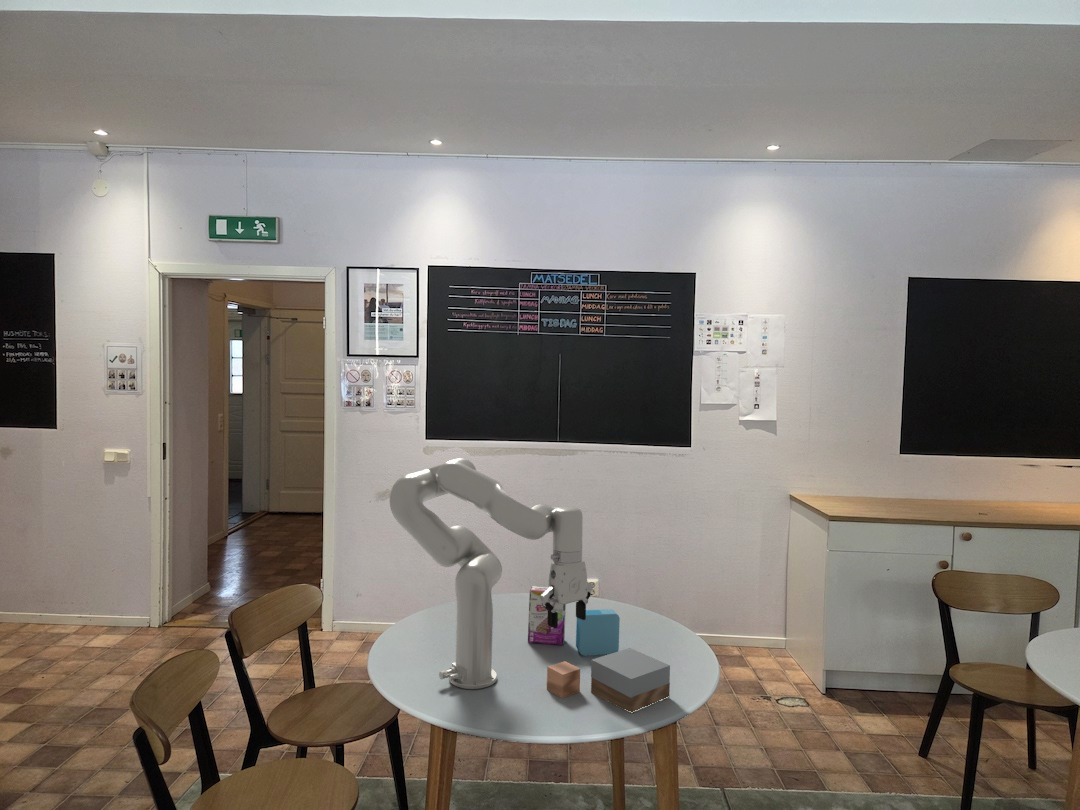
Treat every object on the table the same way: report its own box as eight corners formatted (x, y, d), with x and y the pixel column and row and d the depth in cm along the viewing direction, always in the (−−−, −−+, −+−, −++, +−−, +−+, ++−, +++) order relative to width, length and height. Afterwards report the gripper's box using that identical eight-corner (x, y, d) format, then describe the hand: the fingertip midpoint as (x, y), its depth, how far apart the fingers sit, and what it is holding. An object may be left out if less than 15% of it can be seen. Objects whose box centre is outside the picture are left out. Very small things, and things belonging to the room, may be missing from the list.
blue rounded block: (614, 648, 200) (615, 608, 199) (618, 654, 195) (620, 613, 195) (575, 650, 197) (576, 610, 197) (579, 656, 193) (580, 615, 192)
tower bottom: (631, 716, 159) (632, 697, 159) (590, 694, 169) (591, 677, 169) (669, 700, 168) (669, 682, 167) (628, 680, 178) (628, 664, 178)
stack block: (562, 698, 166) (562, 674, 166) (546, 689, 171) (547, 666, 170) (579, 691, 170) (580, 668, 170) (564, 683, 174) (564, 661, 174)
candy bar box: (527, 643, 201) (528, 590, 201) (529, 637, 206) (530, 585, 206) (564, 646, 200) (565, 592, 200) (565, 639, 205) (566, 587, 205)
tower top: (630, 697, 158) (631, 679, 158) (591, 677, 169) (591, 659, 169) (669, 683, 167) (670, 665, 167) (629, 664, 178) (629, 647, 178)
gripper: (551, 564, 161) (550, 634, 161) (601, 554, 172) (601, 619, 172) (532, 558, 167) (531, 625, 167) (582, 548, 178) (581, 612, 178)
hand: (566, 622), depth 170 cm, fingers open, 9 cm apart
